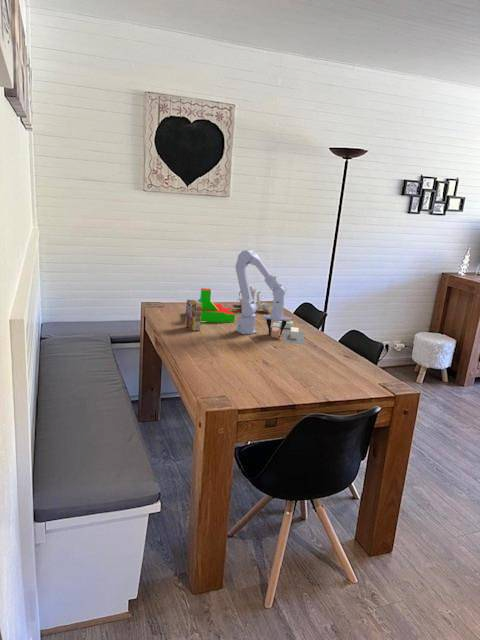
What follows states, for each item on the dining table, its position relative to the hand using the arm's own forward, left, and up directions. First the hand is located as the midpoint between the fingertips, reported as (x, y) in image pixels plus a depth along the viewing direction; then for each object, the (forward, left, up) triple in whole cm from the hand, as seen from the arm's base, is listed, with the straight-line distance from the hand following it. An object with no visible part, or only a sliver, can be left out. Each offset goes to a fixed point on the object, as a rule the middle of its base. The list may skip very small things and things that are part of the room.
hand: (275, 333), depth 253 cm
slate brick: (+6, +8, -2) cm, 10 cm away
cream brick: (+8, -6, -1) cm, 10 cm away
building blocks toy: (-15, +42, -2) cm, 44 cm away
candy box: (-36, +26, -2) cm, 44 cm away
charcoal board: (+8, -6, -1) cm, 10 cm away
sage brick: (+15, +10, -2) cm, 19 cm away
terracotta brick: (0, 0, -2) cm, 2 cm away
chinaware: (+21, +51, -2) cm, 55 cm away
